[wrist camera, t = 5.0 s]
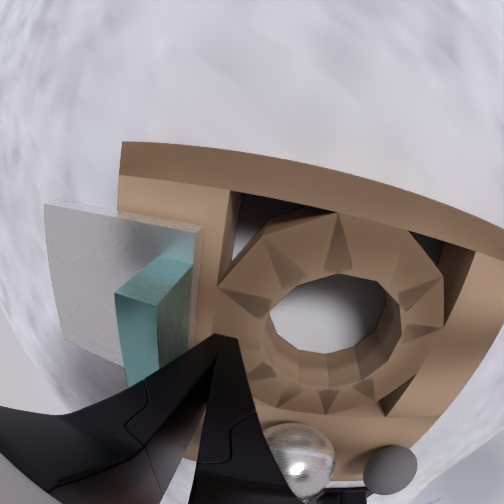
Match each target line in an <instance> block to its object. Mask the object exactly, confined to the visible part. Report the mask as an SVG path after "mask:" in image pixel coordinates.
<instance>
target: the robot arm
mask: <svg viewBox="0 0 504 504" xmlns="http://www.w3.org/2000/svg"><path fill="white" fill-rule="evenodd" d="M205 409H206V411H205ZM256 411H257V410H256V407H255V403H254V399H253V396H252V392H251V388H250V384H249V380H248V377H247V373H246V369H245V365H244V361H243V357H242V353H241V349H240V345H239V341H238V339H237V338H234V337H230V336H225V335H222V334H218V333H213V334H212V335H210V336H209V337H207V338H206V339H204V340H203V341H202V342H200V343H199V344H197V345H195V346H194V347H192V348H191V349H189V350H188V351H186V352H185V353H183V354H182V355H180V356H179V357H177V358H176V359H174V360H173V361H171V362H169V363H168V364H166V365H165V366H163V367H162V368H160V369H158V370H157V371H155V372H154V373H152V374H151V375H149V376H147V377H146V378H144V380H141V381H139V382H137V383H136V384H134V385H132V386H131V387H129V388H127V389H125V390H124V391H122V392H120V393H118V394H116V395H113V396H111V397H109V398H107V399H105V400H102V401H100V402H98V403H95V404H93V405H90V406H88V407H85V408H83V409H80V410H78V411H75V412H72V413H69V414H64V415H48V414H40V413H34V412H28V411H23V410H16V409H12V408H8V407H3V406H0V504H159V503H160V501H161V499H162V498H163V495H164V493H165V491H166V490H167V488H168V486H169V484H170V482H171V480H172V478H173V476H174V474H175V472H176V470H177V468H178V466H179V463H180V461H181V459H182V457H183V455H184V453H185V451H186V449H187V447H188V445H189V443H190V441H191V439H192V437H193V435H194V433H195V431H196V428H197V426H198V424H199V422H200V420H201V418H202V416H203V414H204V412H205V417H204V422H203V428H202V434H201V440H200V445H199V451H198V457H197V463H196V469H195V475H194V480H193V485H192V489H191V493H190V497H189V502H188V504H305V503H303V502H302V501H301V500H300V499H299V498H298V497H297V496H296V495H295V494H294V493H293V491H292V490H291V488H290V487H289V485H288V483H287V482H286V480H285V478H284V476H283V474H282V472H281V470H280V468H279V466H278V464H277V462H276V460H275V458H274V456H273V454H272V452H271V450H270V448H269V445H268V443H267V441H266V438H265V436H264V433H263V430H262V427H261V424H260V421H259V417H258V414H257V412H256ZM372 494H373V492H371V491H370V490H369V489H368V488H359V489H327V490H324V491H323V492H321V493H320V494H319V495H317V496H316V497H315V498H314V499H312V500H311V501H309V502H308V503H307V504H367V497H369V496H370V495H372Z"/></svg>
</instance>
